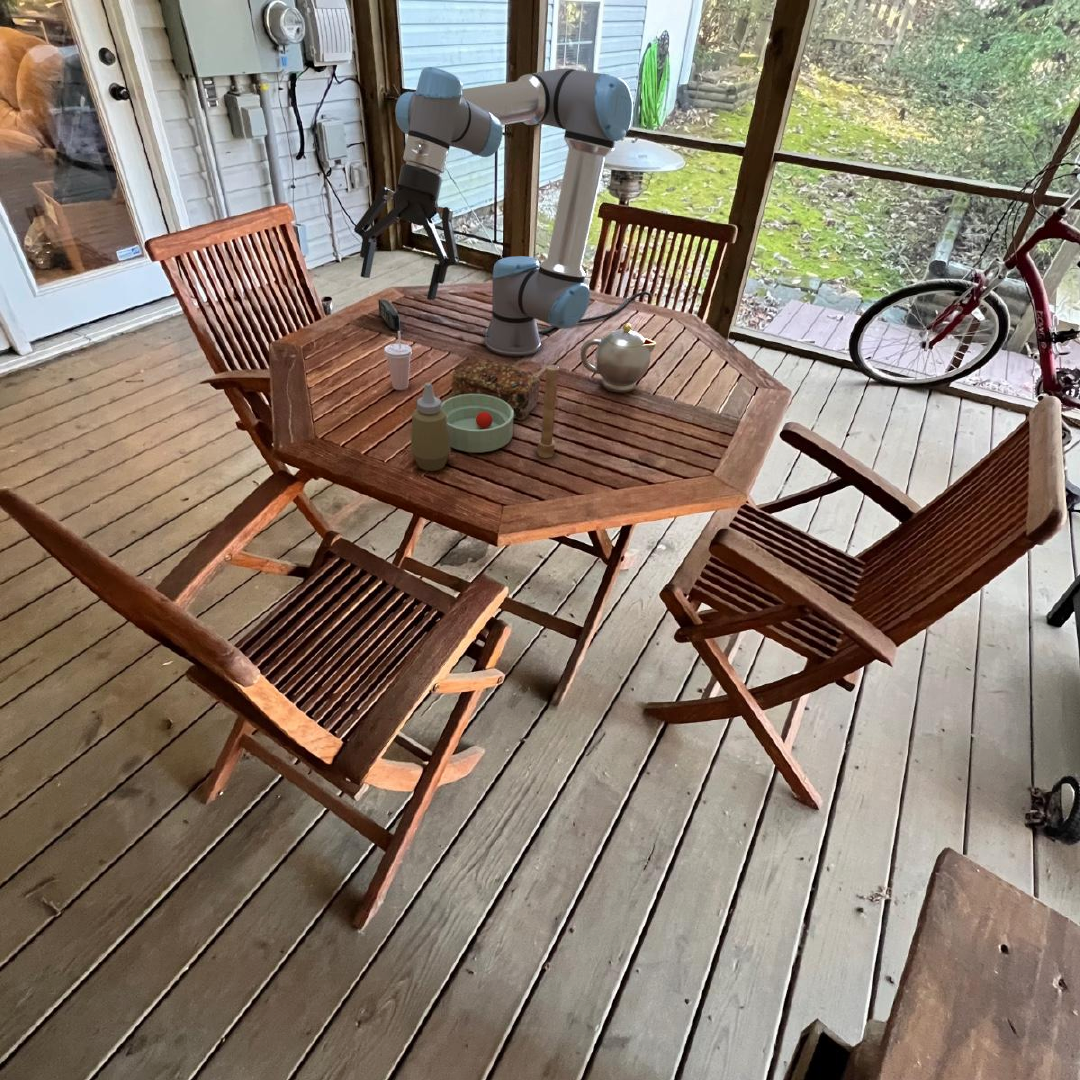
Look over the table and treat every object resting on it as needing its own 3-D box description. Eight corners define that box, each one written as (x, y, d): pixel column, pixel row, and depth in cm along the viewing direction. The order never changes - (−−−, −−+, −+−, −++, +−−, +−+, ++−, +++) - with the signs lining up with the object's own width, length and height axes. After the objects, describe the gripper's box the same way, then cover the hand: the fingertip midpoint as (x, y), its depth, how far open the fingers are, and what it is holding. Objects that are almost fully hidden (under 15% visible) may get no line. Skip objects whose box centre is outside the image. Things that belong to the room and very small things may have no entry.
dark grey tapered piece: (376, 298, 196) (393, 316, 186) (386, 297, 198) (403, 315, 187) (377, 315, 199) (394, 334, 189) (387, 314, 201) (405, 332, 191)
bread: (450, 406, 161) (449, 366, 155) (469, 387, 169) (469, 348, 162) (524, 424, 157) (527, 384, 150) (540, 404, 165) (543, 365, 158)
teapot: (648, 378, 179) (660, 317, 169) (645, 402, 169) (657, 339, 158) (581, 369, 181) (587, 307, 171) (573, 392, 171) (580, 328, 160)
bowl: (469, 410, 160) (470, 386, 156) (526, 433, 154) (528, 409, 150) (423, 437, 149) (421, 413, 146) (481, 464, 143) (482, 439, 139)
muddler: (543, 447, 150) (550, 361, 137) (556, 453, 148) (565, 367, 136) (533, 454, 147) (540, 367, 135) (547, 460, 146) (555, 373, 133)
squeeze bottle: (412, 452, 144) (408, 374, 133) (451, 453, 145) (450, 375, 134) (410, 474, 138) (405, 393, 127) (450, 474, 139) (449, 394, 128)
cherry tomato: (482, 421, 155) (482, 407, 153) (495, 426, 153) (495, 412, 151) (472, 427, 152) (472, 413, 150) (485, 433, 151) (485, 418, 149)
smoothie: (408, 394, 164) (405, 338, 155) (382, 390, 165) (378, 334, 156) (417, 382, 169) (414, 327, 160) (392, 378, 169) (388, 323, 161)
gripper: (350, 143, 121) (329, 267, 129) (482, 187, 120) (453, 309, 128) (367, 152, 128) (345, 268, 136) (492, 192, 127) (463, 308, 135)
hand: (397, 288), depth 132 cm, fingers open, 13 cm apart
